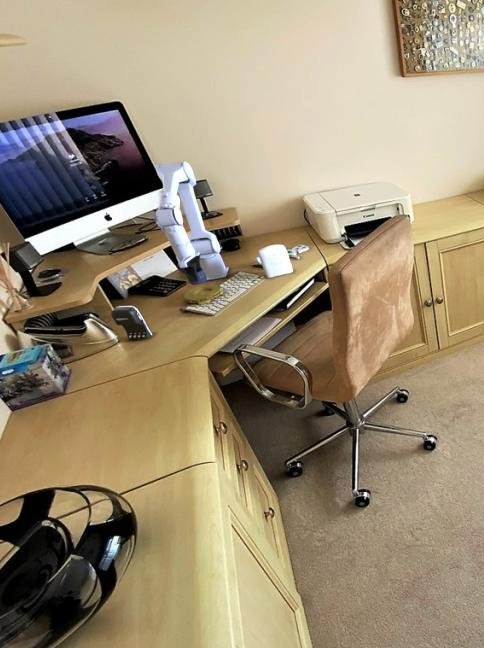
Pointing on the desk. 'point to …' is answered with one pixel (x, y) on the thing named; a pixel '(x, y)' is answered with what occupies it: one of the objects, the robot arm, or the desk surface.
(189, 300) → the gold flat disc
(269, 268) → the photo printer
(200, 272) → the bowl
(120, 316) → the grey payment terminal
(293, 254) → the robot figure
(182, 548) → the desk surface
